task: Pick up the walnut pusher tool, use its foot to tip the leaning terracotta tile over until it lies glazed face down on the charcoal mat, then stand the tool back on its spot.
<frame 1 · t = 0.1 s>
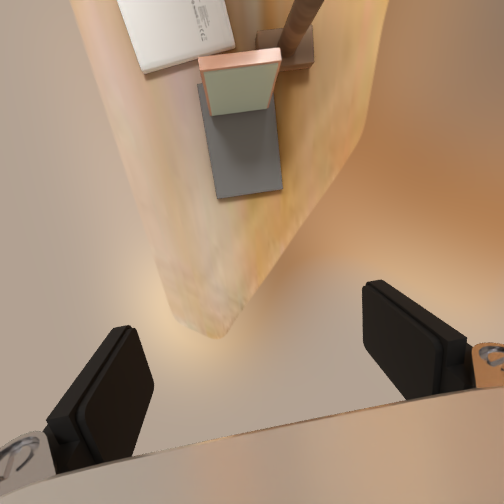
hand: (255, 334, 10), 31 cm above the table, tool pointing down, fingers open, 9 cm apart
external hard drive: (179, 27, 33), on the table
tool: (283, 53, 34), on the table
mat: (242, 140, 37), on the table
tile: (239, 87, 30), point 6 cm above the table, hinge at -12.0°
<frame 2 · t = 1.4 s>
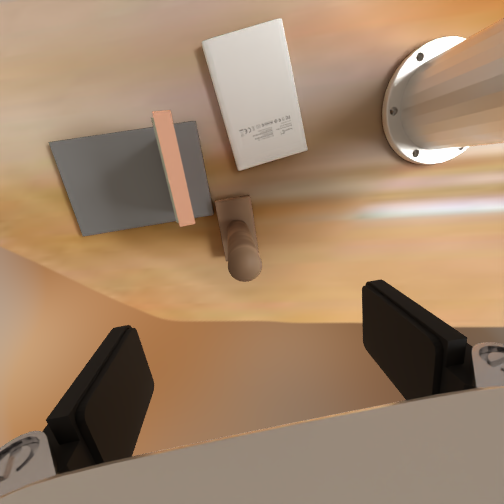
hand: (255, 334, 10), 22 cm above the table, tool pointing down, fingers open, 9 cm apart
external hard drive: (256, 103, 28), on the table
tool: (237, 226, 31), on the table
mat: (138, 180, 29), on the table
tile: (173, 173, 23), point 6 cm above the table, hinge at -12.0°
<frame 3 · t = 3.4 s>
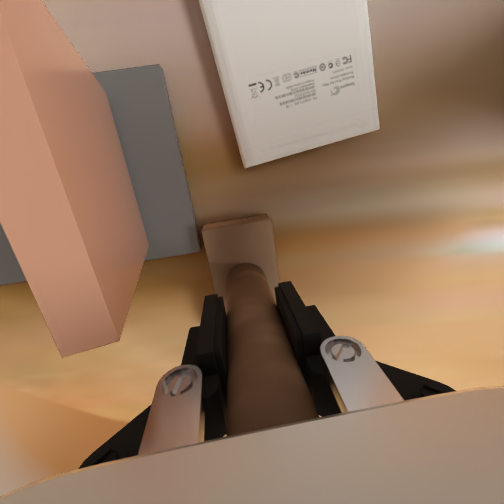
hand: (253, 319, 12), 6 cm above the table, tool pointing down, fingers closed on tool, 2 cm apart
external hard drive: (282, 35, 14), on the table
tool: (244, 269, 17), on the table, touching gripper
mat: (54, 187, 15), on the table
tile: (90, 175, 9), point 6 cm above the table, hinge at -12.0°
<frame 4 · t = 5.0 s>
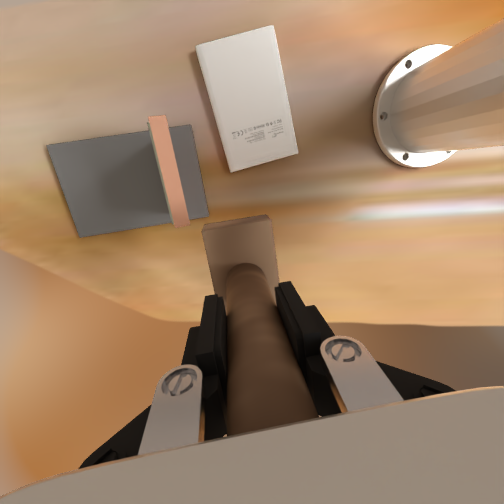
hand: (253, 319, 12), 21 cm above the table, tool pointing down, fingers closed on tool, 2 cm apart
external hard drive: (249, 107, 29), on the table
tool: (244, 269, 17), point 15 cm above the table, touching gripper
mat: (135, 183, 29), on the table
tile: (168, 176, 24), point 6 cm above the table, hinge at -12.0°
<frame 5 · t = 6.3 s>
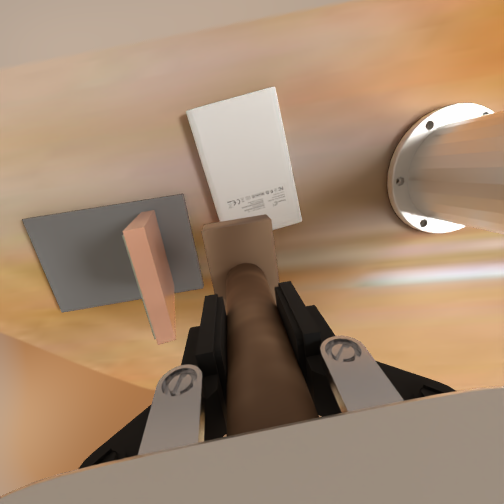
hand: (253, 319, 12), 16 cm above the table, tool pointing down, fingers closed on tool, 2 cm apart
external hard drive: (247, 170, 26), on the table
tool: (243, 269, 17), point 10 cm above the table, touching gripper
mat: (122, 253, 27), on the table
tile: (154, 266, 21), point 6 cm above the table, hinge at -12.0°
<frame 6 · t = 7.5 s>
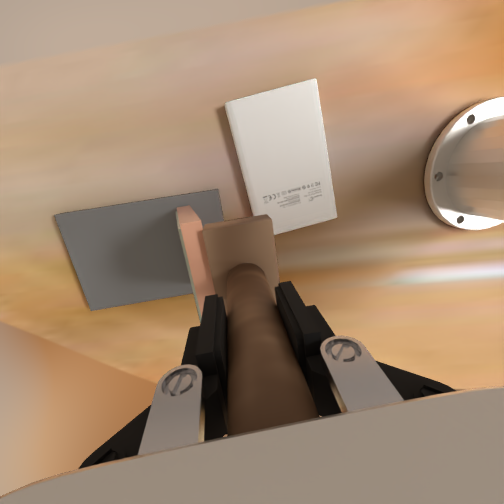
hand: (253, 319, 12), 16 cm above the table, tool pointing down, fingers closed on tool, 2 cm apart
external hard drive: (282, 165, 25), on the table
tool: (244, 269, 17), point 9 cm above the table, touching gripper, tile
mat: (153, 250, 26), on the table
tile: (196, 262, 20), point 6 cm above the table, hinge at -11.7°, touching tool
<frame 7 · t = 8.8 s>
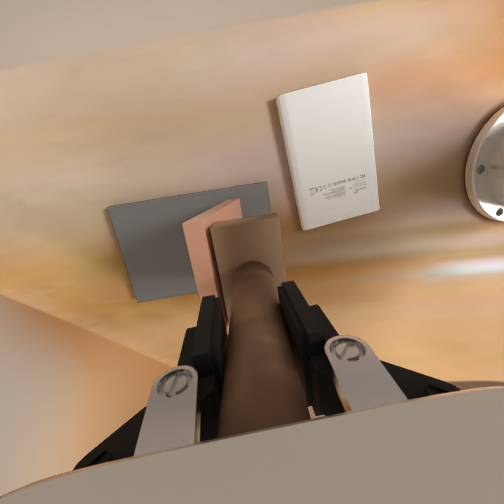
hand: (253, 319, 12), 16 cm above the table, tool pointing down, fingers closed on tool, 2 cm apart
external hard drive: (326, 158, 26), on the table
tool: (252, 267, 18), point 9 cm above the table, touching gripper, tile
mat: (200, 243, 26), on the table
tile: (225, 257, 20), point 6 cm above the table, hinge at 15.5°, touching tool
when the fingers open (8 cm above the table, at t = 16.9 s): tool drops 1 cm, on the table.
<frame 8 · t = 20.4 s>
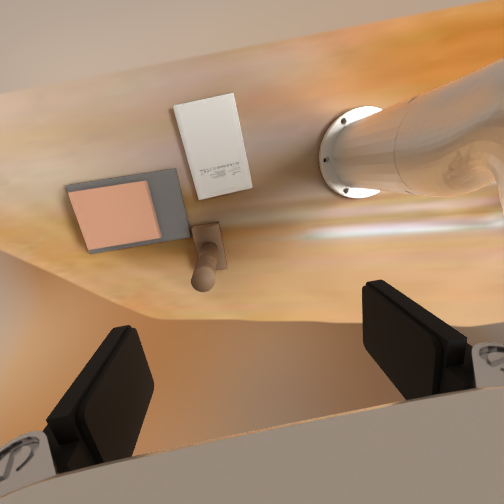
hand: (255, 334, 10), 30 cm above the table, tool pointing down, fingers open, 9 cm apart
external hard drive: (215, 150, 37), on the table
tool: (210, 245, 40), on the table
mat: (132, 211, 38), on the table
tile: (117, 215, 36), point 2 cm above the table, hinge at 89.3°
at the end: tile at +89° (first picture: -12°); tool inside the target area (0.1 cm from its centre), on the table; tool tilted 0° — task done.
